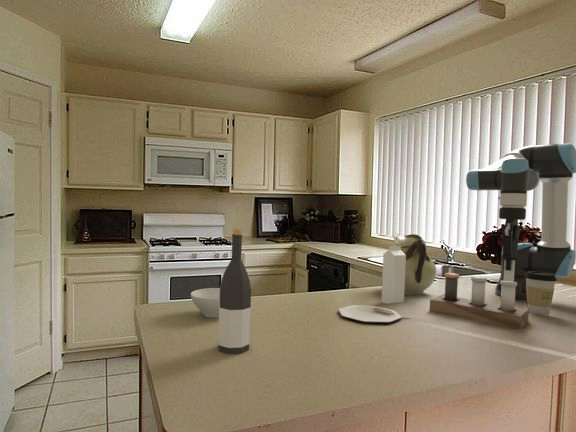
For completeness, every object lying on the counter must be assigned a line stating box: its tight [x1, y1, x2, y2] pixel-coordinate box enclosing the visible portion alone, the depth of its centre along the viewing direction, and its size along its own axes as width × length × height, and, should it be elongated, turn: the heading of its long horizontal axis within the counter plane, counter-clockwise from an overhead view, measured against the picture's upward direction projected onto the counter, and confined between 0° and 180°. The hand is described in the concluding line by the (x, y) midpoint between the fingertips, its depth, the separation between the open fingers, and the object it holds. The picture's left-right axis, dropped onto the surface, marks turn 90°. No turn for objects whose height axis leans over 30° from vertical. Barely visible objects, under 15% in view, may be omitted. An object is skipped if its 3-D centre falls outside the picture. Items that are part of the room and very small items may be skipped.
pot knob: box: [444, 272, 460, 301], centre depth 143 cm, size 5×5×9 cm
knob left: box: [499, 281, 517, 311], centre depth 131 cm, size 5×5×9 cm
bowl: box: [190, 287, 220, 319], centre depth 131 cm, size 16×16×7 cm
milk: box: [381, 245, 406, 305], centre depth 155 cm, size 6×6×22 cm
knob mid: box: [470, 276, 488, 306], centre depth 137 cm, size 5×5×9 cm
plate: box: [337, 304, 402, 324], centre depth 136 cm, size 20×20×2 cm
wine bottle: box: [217, 228, 252, 355], centre depth 101 cm, size 8×8×30 cm
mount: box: [429, 294, 529, 330], centre depth 137 cm, size 12×28×5 cm, turn 49°
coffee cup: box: [525, 271, 557, 317], centre depth 146 cm, size 10×10×15 cm
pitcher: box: [393, 233, 437, 296], centre depth 176 cm, size 22×24×25 cm
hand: (508, 280), depth 131 cm, fingers closed
